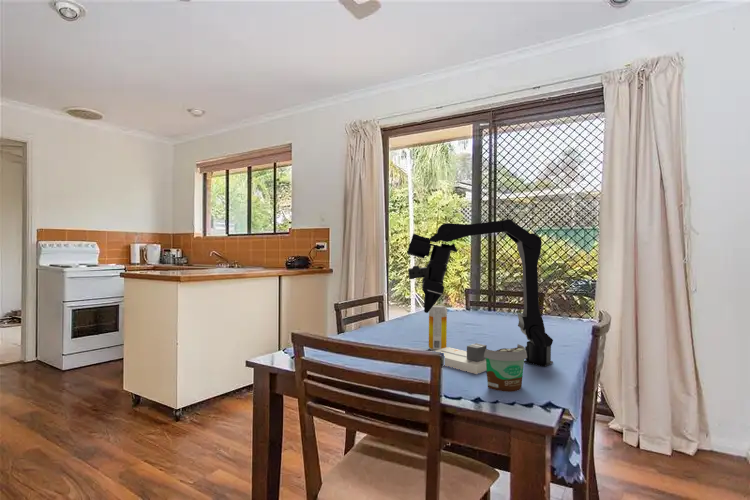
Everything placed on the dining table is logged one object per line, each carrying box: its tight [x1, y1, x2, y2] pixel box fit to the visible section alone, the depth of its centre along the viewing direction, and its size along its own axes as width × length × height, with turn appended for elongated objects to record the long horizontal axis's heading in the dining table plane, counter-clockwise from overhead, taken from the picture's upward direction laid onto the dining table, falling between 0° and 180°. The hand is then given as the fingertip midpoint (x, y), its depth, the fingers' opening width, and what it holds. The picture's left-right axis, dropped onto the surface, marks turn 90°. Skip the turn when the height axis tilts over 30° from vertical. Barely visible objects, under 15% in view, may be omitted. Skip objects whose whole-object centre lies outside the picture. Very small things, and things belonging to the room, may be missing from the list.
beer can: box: [428, 304, 448, 352], centre depth 140 cm, size 6×6×15 cm
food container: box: [484, 343, 527, 393], centre depth 102 cm, size 12×6×10 cm, turn 117°
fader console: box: [435, 346, 487, 375], centre depth 123 cm, size 18×11×2 cm, turn 44°
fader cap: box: [466, 342, 487, 362], centre depth 119 cm, size 4×5×4 cm
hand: (425, 310), depth 128 cm, fingers open, 9 cm apart
